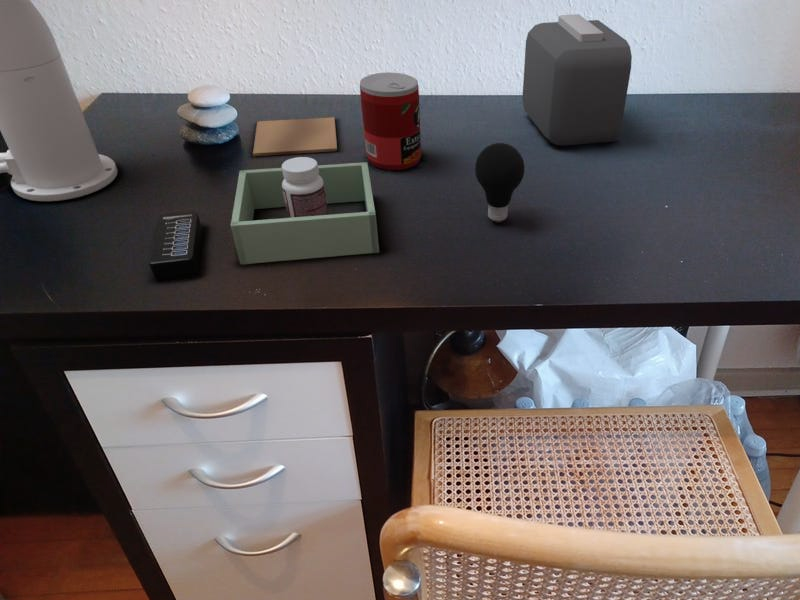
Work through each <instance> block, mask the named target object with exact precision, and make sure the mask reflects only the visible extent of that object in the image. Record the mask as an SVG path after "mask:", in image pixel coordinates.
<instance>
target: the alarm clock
mask: <svg viewBox="0 0 800 600" xmlns="http://www.w3.org/2000/svg"><path fill="white" fill-rule="evenodd" d="M524 49H525V50H524V65H523V66H524V68H523V80H522V81H523V83H522V99H521V100H522V105H523V110H524V112H525V113H526V114H527V116H528V117H529V118H530V120H531V121H532V123H534V125H535V126H536V127H537V128H538V130H539V131H540V132H541V133H542V135H543V136H544V138H545V139H547V141H549V143H551V144H552V145H555V146H575V145H586V144H598V143H608V142H616V141H617V140H618V138H620V134H621V130H622V126H623V120H624V114H625V107H626V102H627V95H628V89H629V83H630V77H631V72H632V56H633V55H632V50H631V46H630V44H629V42H628V40H627V39H625V38H624V37H622V36H621V35H619V34H618V33H617V32H615V30H613V29H611V28H610V27H609V26H607V25H606V24H605V23H603V22H601V21H600V19H592V20H591V19H590V20H589V19H586V18H584V17H583V16H582V15H581V14H578V13H577V14H576V13H575V14H559V15H558V19H557V21H551V22H540V23H537V24H534V26H533V27H532V28H531V29H530V30H529V31H528V33H527V36H526V39H525V48H524Z"/></svg>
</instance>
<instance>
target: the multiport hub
mask: <svg viewBox="0 0 800 600" xmlns="http://www.w3.org/2000/svg"><path fill="white" fill-rule="evenodd" d="M202 234H203V227H202V224H201V221H200V216H199V212H198V211H197V210H189V211H179V212H169V213H161V214H159V215H158V216H157V220H156V225H155V230H154V234H153V240H152V244H151V250H150V254H149V260H148V264H149V267H150V269H151V272H152V275H153V278H154V280H155V281H156V282H162V281H170V280H177V279H178V280H179V279H187V278H194V277H197V276H198V274H199V266H200V265H199V264H200V254H201V245H202Z"/></svg>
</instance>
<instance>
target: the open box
mask: <svg viewBox="0 0 800 600" xmlns="http://www.w3.org/2000/svg"><path fill="white" fill-rule="evenodd" d="M318 169H319V176H321V178H322V179H323V182H324V189H325V195H326V201H327V205H329V204H330V205H331V204H341V203H342V204H343V203H357V202H364V203H365V211H360V212H347V213H334V214H329V215H319V216H306V217H294V218H288V217H283V218H281V217H280V218H268V219H257V220H254V214H255V210H262V209H275V208H286V204H285V199H284V194H283V189H282V182H283V180H284V176H283V171H282V167H274V168H273V167H272V168H257V169H241V170H239V172H238V179H237V185H236V190H235V197H234V202H233V207H232V214H231V220H230V229H231V233H232V237H233V241H234V244H235V248H236V249H235V250H236V252H237V256H238V260H239V263H240V265H251V264H261V263H274V262H286V261H297V260H307V259H309V260H310V259H320V258H330V257H343V256H354V255H366V254H377V253H378V254H379V253H380V246H379V245H380V244H379V236H378V235H379V234H378V224H377V215H376V208H375V203H374V196H373V190H372V189H373V188H372V184H371V176H370V170H369V164H368V161H364V162H363V161H361V162H351V163H336V164H333V163H332V164H320V165H319V164H318Z"/></svg>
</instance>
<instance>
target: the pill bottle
mask: <svg viewBox="0 0 800 600" xmlns="http://www.w3.org/2000/svg"><path fill="white" fill-rule="evenodd" d="M318 165H319V164H318V162H317V160H316V159H315V158H312V157H307V156H297V157H293V158H289V159H286V160H284V161H283V162H282V164H281V168H282V171H283V176H284V180H283V182H282V189H283V194H284V199H285V204H286V207H285V208H286V214H287V218H294V217H306V216H319V215H330V214H329V210H328V209H329V208H328V204H327V201H326V195H325V189H324V182H323V179H322V178H321V176H319V169H318Z"/></svg>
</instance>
